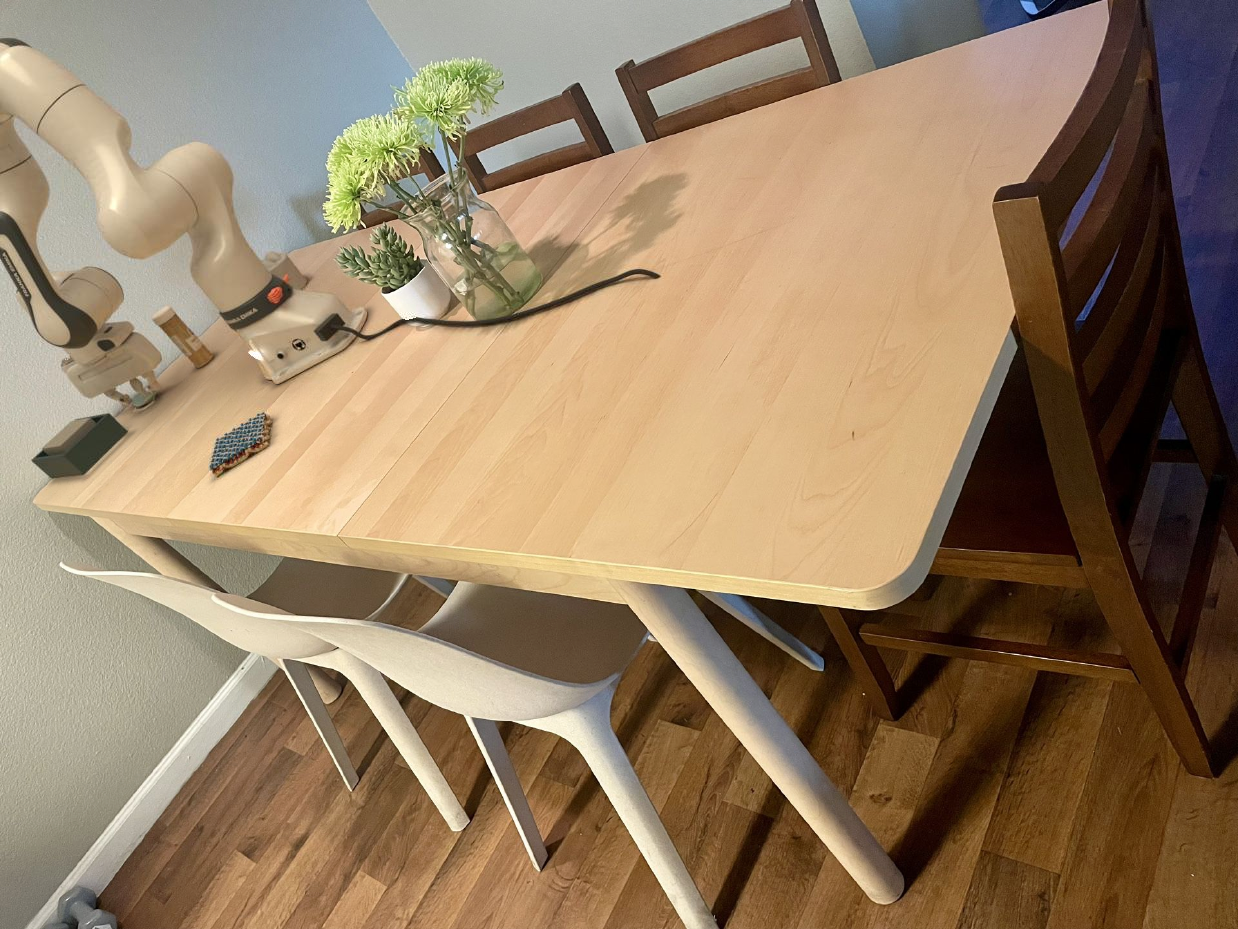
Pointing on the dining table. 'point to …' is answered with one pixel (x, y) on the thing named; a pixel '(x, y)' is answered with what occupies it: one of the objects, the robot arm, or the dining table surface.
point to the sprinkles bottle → (182, 336)
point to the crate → (83, 449)
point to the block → (68, 436)
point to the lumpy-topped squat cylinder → (284, 269)
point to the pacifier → (141, 395)
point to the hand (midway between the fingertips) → (143, 396)
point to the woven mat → (240, 443)
